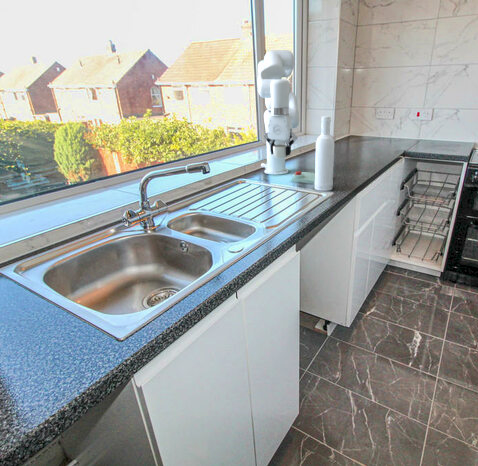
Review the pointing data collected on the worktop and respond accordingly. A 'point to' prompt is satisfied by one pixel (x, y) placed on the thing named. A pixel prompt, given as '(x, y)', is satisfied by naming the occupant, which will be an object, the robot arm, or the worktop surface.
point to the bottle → (324, 157)
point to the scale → (304, 177)
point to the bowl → (279, 151)
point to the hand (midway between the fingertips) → (280, 154)
